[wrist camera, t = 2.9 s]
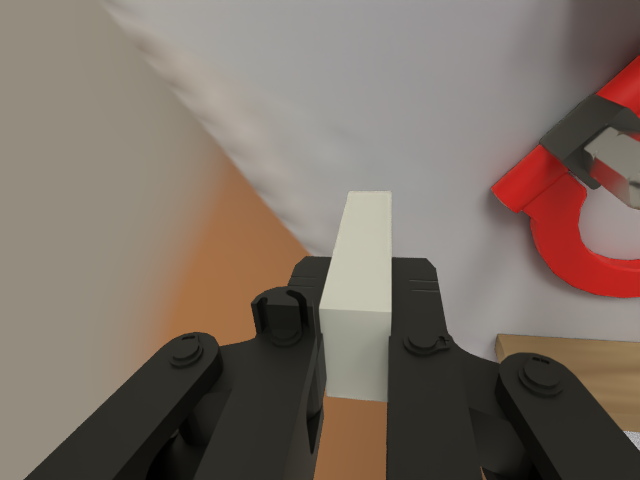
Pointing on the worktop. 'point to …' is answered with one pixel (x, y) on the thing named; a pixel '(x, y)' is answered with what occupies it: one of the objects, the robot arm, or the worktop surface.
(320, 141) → the worktop surface
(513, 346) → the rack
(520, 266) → the worktop surface
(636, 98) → the tow hook
